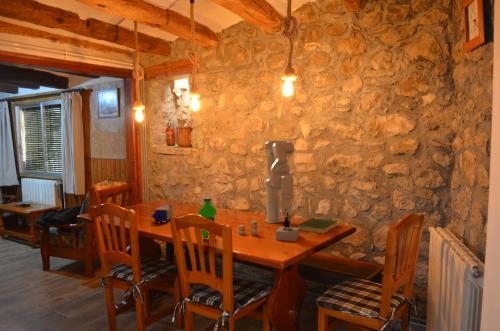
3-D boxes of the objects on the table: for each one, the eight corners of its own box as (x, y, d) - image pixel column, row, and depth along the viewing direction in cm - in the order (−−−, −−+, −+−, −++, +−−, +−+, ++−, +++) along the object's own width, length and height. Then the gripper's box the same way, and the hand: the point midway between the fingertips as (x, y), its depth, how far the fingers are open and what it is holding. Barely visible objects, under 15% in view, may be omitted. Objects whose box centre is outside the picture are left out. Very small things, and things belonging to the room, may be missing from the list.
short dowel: (239, 232, 240) (239, 225, 239) (245, 233, 239) (245, 225, 238) (237, 234, 236) (237, 226, 236) (243, 234, 235) (243, 226, 234)
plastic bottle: (217, 240, 222) (217, 198, 220) (200, 241, 219) (199, 199, 218) (215, 236, 231) (215, 196, 230) (198, 237, 229) (197, 197, 227)
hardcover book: (312, 223, 265) (312, 218, 265) (337, 226, 255) (338, 221, 254) (296, 230, 245) (296, 225, 245) (323, 234, 234) (323, 228, 234)
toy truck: (173, 217, 291) (173, 204, 290) (166, 224, 266) (165, 210, 265) (161, 217, 291) (160, 204, 290) (152, 224, 266) (151, 210, 266)
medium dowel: (251, 233, 237) (251, 221, 237) (257, 233, 236) (257, 221, 236) (250, 235, 234) (249, 222, 233) (256, 235, 233) (256, 222, 232)
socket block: (279, 234, 234) (279, 226, 233) (299, 235, 230) (299, 227, 230) (275, 239, 222) (275, 231, 222) (296, 240, 219) (295, 232, 218)
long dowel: (284, 233, 229) (284, 211, 228) (291, 233, 227) (291, 211, 226) (283, 235, 225) (283, 212, 224) (290, 235, 224) (290, 212, 223)
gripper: (283, 194, 233) (284, 222, 235) (278, 198, 217) (278, 229, 219) (295, 194, 231) (295, 223, 233) (291, 198, 215) (291, 229, 217)
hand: (287, 225), depth 226 cm, fingers closed on long dowel, 4 cm apart
